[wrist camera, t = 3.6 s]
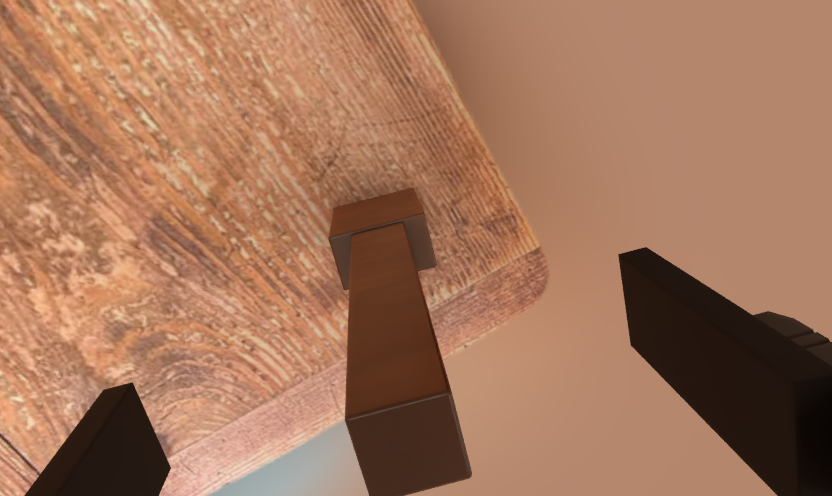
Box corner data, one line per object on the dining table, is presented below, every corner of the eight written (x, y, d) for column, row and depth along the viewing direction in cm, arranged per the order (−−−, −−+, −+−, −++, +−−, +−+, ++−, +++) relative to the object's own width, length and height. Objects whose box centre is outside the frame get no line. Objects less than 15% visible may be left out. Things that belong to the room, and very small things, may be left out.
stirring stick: (413, 187, 29) (494, 374, 12) (424, 233, 30) (515, 472, 13) (332, 207, 29) (298, 426, 12) (346, 253, 30) (331, 520, 13)
